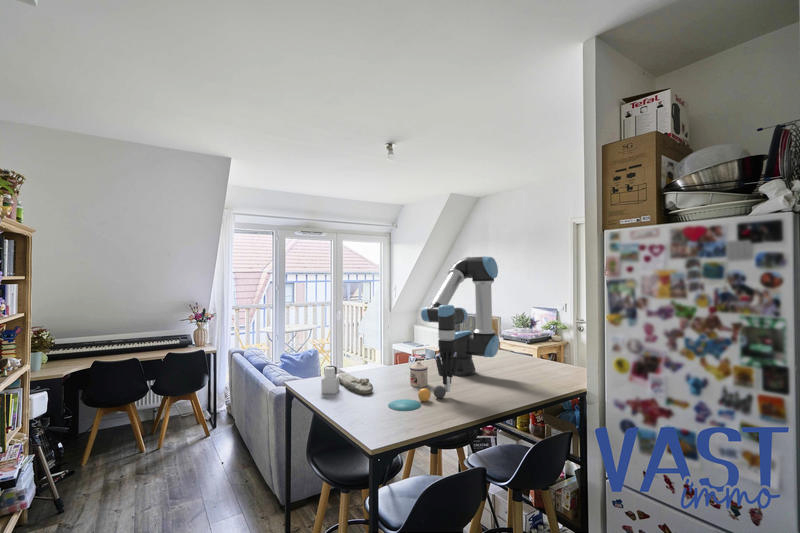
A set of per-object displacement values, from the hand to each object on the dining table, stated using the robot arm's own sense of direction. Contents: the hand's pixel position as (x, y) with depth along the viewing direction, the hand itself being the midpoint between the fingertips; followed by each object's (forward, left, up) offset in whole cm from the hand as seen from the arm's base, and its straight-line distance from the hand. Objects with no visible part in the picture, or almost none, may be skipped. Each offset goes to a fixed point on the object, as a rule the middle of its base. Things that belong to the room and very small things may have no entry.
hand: (447, 391), depth 175 cm
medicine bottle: (+43, -35, -3) cm, 56 cm away
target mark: (+22, 0, -2) cm, 22 cm away
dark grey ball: (+4, 0, 0) cm, 4 cm away
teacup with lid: (+1, -21, -3) cm, 22 cm away
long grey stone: (+30, -38, -3) cm, 49 cm away
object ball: (+12, 0, 0) cm, 12 cm away
